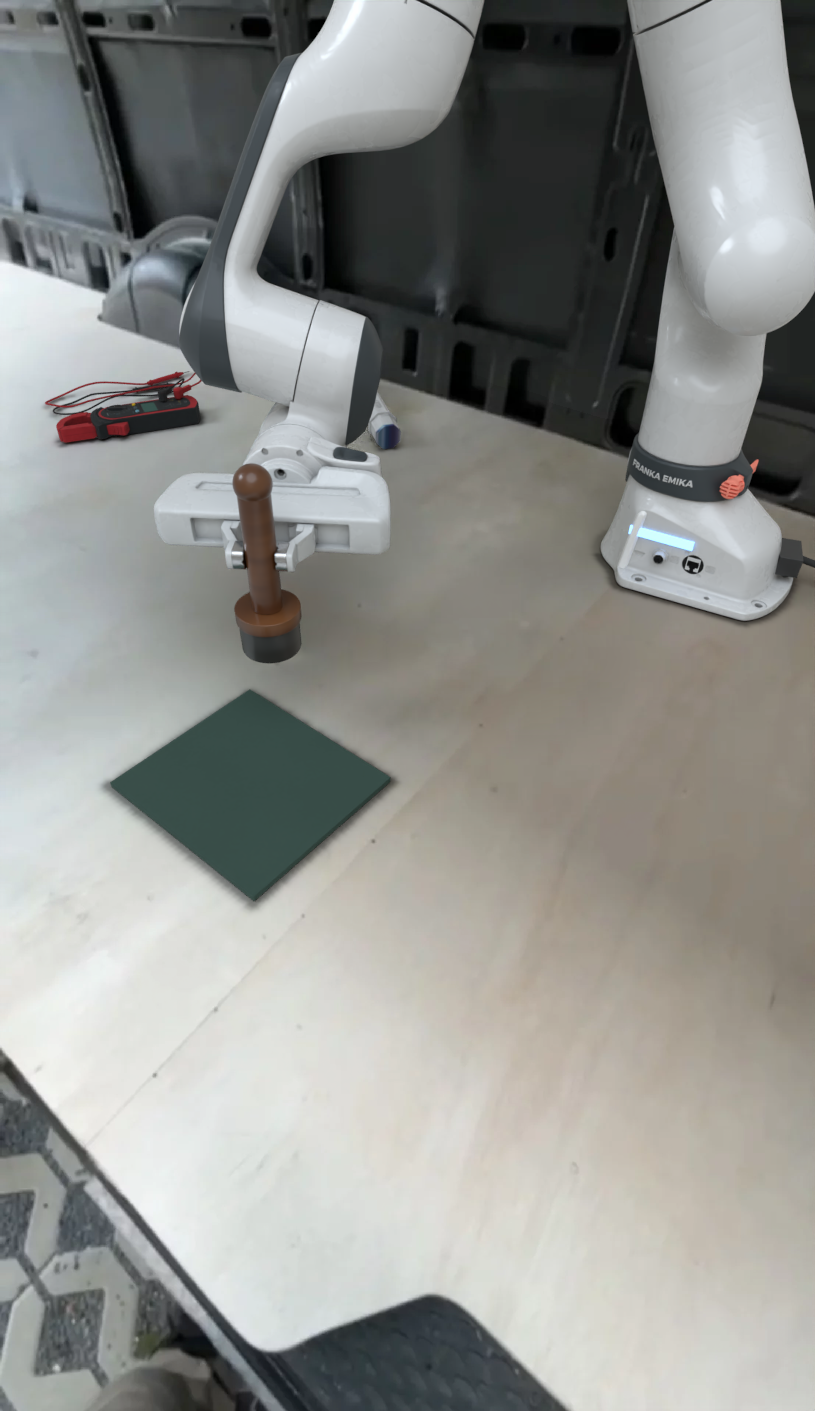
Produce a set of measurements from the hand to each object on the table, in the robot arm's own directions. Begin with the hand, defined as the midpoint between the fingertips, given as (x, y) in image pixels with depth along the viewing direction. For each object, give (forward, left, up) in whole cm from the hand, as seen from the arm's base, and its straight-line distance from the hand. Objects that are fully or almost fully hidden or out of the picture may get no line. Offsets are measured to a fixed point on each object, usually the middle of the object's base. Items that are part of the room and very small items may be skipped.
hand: (259, 563), depth 63 cm
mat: (-4, +7, -17) cm, 19 cm away
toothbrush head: (+41, -59, -17) cm, 74 cm away
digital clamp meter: (+72, -36, -17) cm, 82 cm away
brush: (+1, -1, -9) cm, 9 cm away
